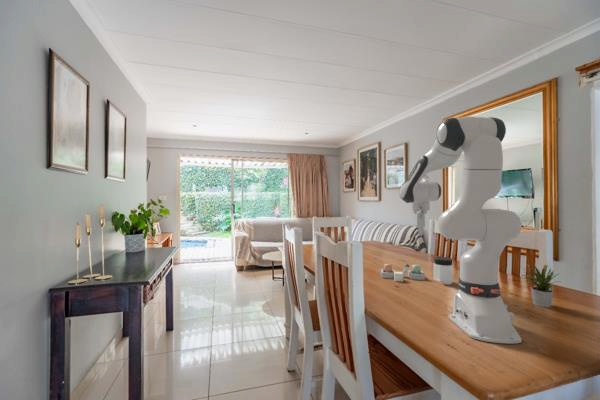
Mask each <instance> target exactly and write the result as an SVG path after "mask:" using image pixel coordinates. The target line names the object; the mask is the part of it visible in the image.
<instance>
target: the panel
mask: <svg viewBox="0 0 600 400" xmlns="http://www.w3.org/2000/svg"><path fill="white" fill-rule="evenodd" d="M394 271H395V269H392V272H384V268H382V269H380V276H381V277H380V278H382V279H394ZM395 272H396V271H395ZM425 274H426V273H424V272H423V270H420V274H414V273H412V269H411V270H410V269H407V276H408V278H409V279H410V280H416V281H417V280H419V281H425V280H426V275H425Z"/></svg>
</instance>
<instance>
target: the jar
mask: <svg viewBox="0 0 600 400" xmlns="http://www.w3.org/2000/svg"><path fill="white" fill-rule="evenodd" d="M433 260H434V262H433V280H434V281H438V282H439V283H442V284H443V285H448V286H449V285H452V284H454V262H453V259H452V258H451V257H447V256H436V257H434V259H433Z"/></svg>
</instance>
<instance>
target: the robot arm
mask: <svg viewBox="0 0 600 400" xmlns="http://www.w3.org/2000/svg"><path fill="white" fill-rule="evenodd" d="M506 129H507V128H506V124H505V122H504V121H503V120H502V119H501V118H498V117H493V116H489V117H485V116H484V117H483V116H462V117H450V118H446V119H443V120H442V121H440V123H439V124H438V127H437V130H436V139H435V141H434V144H433V145H432V147H431V148H430V149H429V150H428V151H427V152H426V153H425V154H424V155H423V156H421V157H419V159H418V160H417V162H416V163H415V165H414V166H413V167H412V170H411V171H410V173H409V175H408V176H407V178H406V180H405V181H404V182H403V183H402V184H401V185H400V188H399V197H400V199H401V200H402V201H403V202H404V203H407V204H409V203H410V210H411V211H413V214H414V217H415V218H414V219H415V223H416V227H417V232H418V236H420V237H421V236H423V235H424V234H423V232H424V228H425V226H426V214H427V213H428V211H430V205H431V204H430V202H436V201H438V200H439V198H441V196H442V186H441V185H440V184H439V183H438V182H437V181H434V180H432V179H430V177H429V175H427V174H430V173H432V172H434V171H438V170H443V169H446V168H449V167H451V166H453V165H455V163H457V162H458V161H459V159H460V157H461V155H462V153H463V154H464V159H463V170H462V179H461V180H462V182H461V187H460V191H459V195H457V198H456V200H455V201H454V203H453V204H452V205H451V206H450V207H449V208H447V209H446V210H445V211H443V212H442V213H441V214H440V215H439V217H438V221H437V228H438V232H440V234H441V235H442V237H444V238H445V239H449V240H454V241H461V242H462V241H468V242H469V241H472V242H473V241H476V242H475V244H474V246H473V247H472V248H471V249H468V250H467V251H465V252H463V253H462V255H461V256H460V258H459V277H458V281H457V282H458V284H457V285H458V291H457V292H456V293H455V294H454V297H453V311H452V312H453V313H450V314H449V315H448V319H449V320H450V321H451V322H452V323H454V324H455V325H456V326H457V327H458V328H459V329H460V330H461V331H463V332H464V333H465V334H466V335H467V336H469V337H470V338H471V339H475V340H479V341H483V342H489V343H496V344H507V345H508V344H520V343H522V337H521V336H520V334H519V332H518V331H517V330H516V328H515V327H514V325H513V324H512V321H514V320H515V314H514V313H513V312H510V311H508V305H507V304H505V302H504V300H503V298H502V297H501V295H502V294H501V287H500V283H499V281H498V278H499V276H498V274H499V261H500V258H501V255H502V253H503V251H504V249H505V247H507V245H508V244H509V243H510V242H511V241H513V240H514V239H515V238H517V237H518V236H519V235H520V233H521V231H522V227H523V226H522V224H523V223H522V221H521V218H520V216H519V215H518V214H517V213H516V212H515V211H512V210H507V209H501V208H483V207H484V205H485V204H486V202H487V201H489V200H491V199H494V198H495V197H496V196H497V195H499V193H500V192H501V188H502V180H503V179H502V178H503V177H502V176H503V164H504V162H503V161H504V158H503V156H504V154H503V146H502V142H503V140H504V138H505V137H506V133H507V130H506Z"/></svg>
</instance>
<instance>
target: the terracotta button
mask: <svg viewBox="0 0 600 400" xmlns="http://www.w3.org/2000/svg"><path fill="white" fill-rule="evenodd" d="M383 269H384V272H392V270H393V264H392V263H384V264H383Z"/></svg>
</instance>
